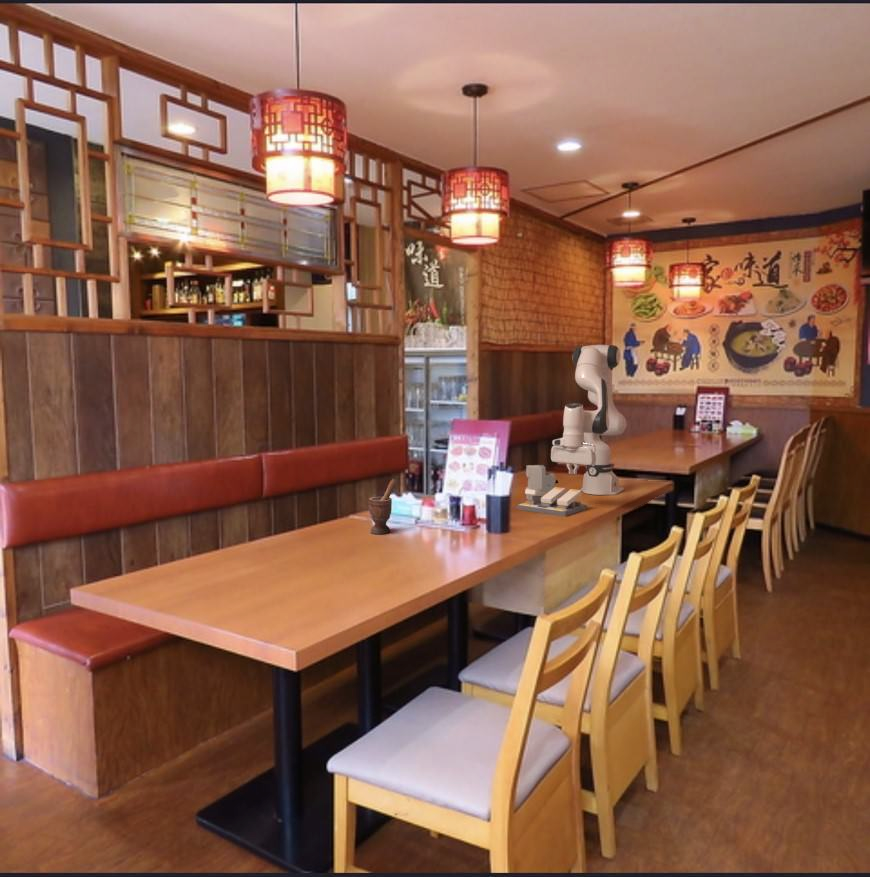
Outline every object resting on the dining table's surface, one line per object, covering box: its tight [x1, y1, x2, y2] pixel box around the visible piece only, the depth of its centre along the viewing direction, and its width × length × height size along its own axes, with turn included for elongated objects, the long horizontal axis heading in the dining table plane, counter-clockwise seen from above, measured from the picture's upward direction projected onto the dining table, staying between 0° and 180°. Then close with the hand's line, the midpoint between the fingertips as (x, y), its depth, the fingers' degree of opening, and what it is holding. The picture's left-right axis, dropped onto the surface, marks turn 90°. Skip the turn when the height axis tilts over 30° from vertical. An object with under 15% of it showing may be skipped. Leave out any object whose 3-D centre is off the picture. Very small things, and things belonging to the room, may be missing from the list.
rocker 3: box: [557, 488, 583, 506], centre depth 312 cm, size 12×5×2 cm, turn 139°
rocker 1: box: [524, 488, 548, 497], centre depth 323 cm, size 12×5×2 cm, turn 139°
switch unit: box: [516, 496, 588, 517], centre depth 317 cm, size 18×24×5 cm
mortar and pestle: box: [368, 478, 399, 535], centre depth 280 cm, size 12×9×20 cm
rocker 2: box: [541, 486, 566, 504], centre depth 318 cm, size 12×5×2 cm, turn 139°
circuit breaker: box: [525, 464, 559, 501], centre depth 342 cm, size 8×14×15 cm, turn 89°
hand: (572, 473), depth 313 cm, fingers closed
